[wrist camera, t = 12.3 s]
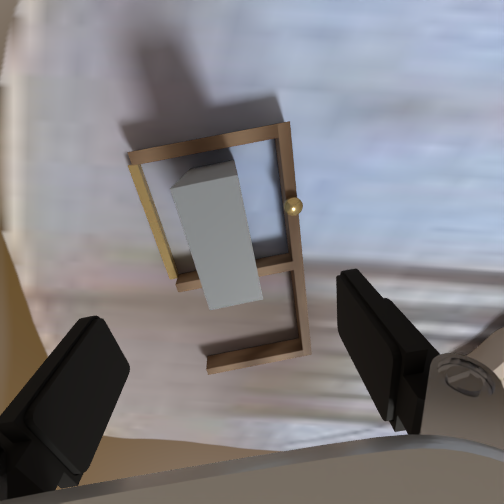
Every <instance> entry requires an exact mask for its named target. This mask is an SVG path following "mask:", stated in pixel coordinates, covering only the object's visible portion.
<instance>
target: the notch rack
mask: <svg viewBox="0 0 504 504" xmlns="http://www.w3.org/2000/svg"><path fill="white" fill-rule="evenodd" d="M274 138H275V143H276V152H277V160H278V168H279V177H280V185H281V193H282V202H283V210H284V218H285V227H286V235H287V243H288V252H289V253H285V254H280V255H275V256H270V257H265V258H260V259H255V262H256V267H257V271H258V276H259V277H260V276H265V275H270V274H276V273H281V272H286V271H291V277H292V285H293V293H294V302H295V310H296V318H297V327H298V335H299V338H298V339H293V340H287V341H282V342H277V343H272V344H267V345H262V346H257V347H252V348H247V349H242V350H236V351H231V352H226V353H221V354H216V355H211V356H208V357H207V368H206V370H207V372H208V375H210V374H215V373H220V372H225V371H230V370H235V369H241V368H246V367H251V366H256V365H261V364H266V363H271V362H276V361H281V360H286V359H291V358H296V357H302V356H307V355H312V353H311V342H310V332H309V321H308V310H307V300H306V289H305V278H304V267H303V257H302V246H301V235H300V225H299V213H300V212H301V210H302V208H303V205H302V202H301V200H299V199H298V198H297V193H296V182H295V171H294V160H293V150H292V139H291V128H290V121H289V122H284V123H278V124H273V125H268V126H263V127H258V128H252V129H247V130H242V131H237V132H231V133H226V134H221V135H216V136H210V137H205V138H200V139H195V140H190V141H184V142H179V143H174V144H169V145H163V146H158V147H153V148H148V149H143V150H137V151H132V152H127V153H128V155H129V158H130V161H131V164H132V165H128V168H129V170H130V173H131V176H132V178H133V181H134V184H135V187H136V189H137V192H138V195H139V197H140V200H141V203H142V205H143V208H144V211H145V213H146V216H147V219H148V222H149V224H150V227H151V230H152V232H153V235H154V238H155V240H156V243H157V246H158V248H159V251H160V254H161V257H162V259H163V262H164V265H165V267H166V270H167V273H168V275H169V278H170V279H175V278H177V281H176V287H177V290H178V292H183V291H188V290H193V289H198V288H202V285H201V282H200V279H199V276H198V273H197V271H193V272H187V273H182V274H179V273H178V270H177V267H176V264H175V262H174V259H173V256H172V253H171V250H170V247H169V244H168V242H167V239H166V236H165V233H164V230H163V227H162V224H161V222H160V219H159V216H158V213H157V210H156V207H155V204H154V201H153V199H152V196H151V193H150V190H149V187H148V184H147V181H146V179H145V176H144V173H143V170H142V167H141V164H143V163H149V162H154V161H159V160H164V159H170V158H175V157H180V156H185V155H190V154H196V153H201V152H206V151H211V150H217V149H222V148H227V147H232V146H237V145H243V144H248V143H253V142H258V141H264V140H269V139H274Z"/></svg>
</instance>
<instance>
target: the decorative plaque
mask: <svg viewBox="0 0 504 504" xmlns="http://www.w3.org/2000/svg"><path fill="white" fill-rule="evenodd" d="M466 356H468V357H470V358H473V359H475V360H477V361H479V362H481V363H482V364H484V365H486V366H487V367H488V368H490V369H491V370H492V371H493V372H494V373H495V374H496V375H497V376H498V378H499V379H500V380H501V382H502V385H503V388H504V327H503V328H501V329H499V330H497V331H495V332H494V333H493V334H491V335H490V336H489V337H488V338H487V339H486V340H485V341H483V342H482V343H481V344H480V345H479V346H478V347H477V348H476V349H475V350H474V351H472V352H471V353H470V354H468V355H466Z"/></svg>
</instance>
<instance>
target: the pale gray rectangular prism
mask: <svg viewBox="0 0 504 504" xmlns="http://www.w3.org/2000/svg"><path fill="white" fill-rule="evenodd" d="M170 190H171V193H172V197H173V200H174V203H175V206H176V209H177V212H178V215H179V218H180V221H181V224H182V227H183V230H184V233H185V236H186V239H187V242H188V245H189V248H190V251H191V254H192V257H193V260H194V263H195V267H196V270H197V273H198V276H199V279H200V282H201V285H202V288H203V291H204V294H205V297H206V300H207V303H208V306H209V309H210V310H214V309H218V308H223V307H228V306H233V305H238V304H242V303H247V302H252V301H257V300H262V299H263V296H262V291H261V286H260V281H259V276H258V271H257V267H256V262H255V257H254V252H253V247H252V242H251V237H250V232H249V228H248V223H247V218H246V213H245V208H244V203H243V198H242V194H241V189H240V184H239V179H238V174H237V170H236V166H235V161H234V160H230V161H225V162H220V163H216V164H211V165H206V166H201V167H196V168H192V169H190V170H189V171H188V172H187V173H186V174H185V175H184V176H183V177H182V178H181V179H180V180H179V181H178V182H177V183H175V184H174V185H173V186H172V187H171V188H170Z"/></svg>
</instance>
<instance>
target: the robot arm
mask: <svg viewBox="0 0 504 504" xmlns="http://www.w3.org/2000/svg"><path fill="white" fill-rule="evenodd" d="M336 286H337V325H338V332H339V335H340V337H341V339H342V341H343V343H344V345H345V347H346V349H347V351H348V353H349V355H350V357H351V359H352V361H353V363H354V365H355V367H356V369H357V371H358V372H359V374H360V376H361V378H362V380H363V382H364V384H365V386H366V388H367V390H368V392H369V394H370V396H371V398H372V400H373V402H374V404H375V406H376V408H377V410H378V412H379V413H380V415H381V417H382V419H383V420H384V421H389V422H390V424H391V425H392V427H393V429H394V431H395V432H397V431H403V430H406V431H407V433H408V435H397V436H386V437H376V438H369V439H362V440H355V441H348V442H341V443H334V444H327V445H320V446H314V447H308V448H302V449H296V450H290V451H284V452H277V453H271V454H266V455H260V456H253V457H247V458H241V459H235V460H229V461H223V462H218V463H212V464H205V465H199V466H193V467H187V468H181V469H175V470H170V471H164V472H158V473H152V474H146V475H141V476H134V477H129V478H124V479H117V480H112V481H106V482H100V483H94V484H89V485H83V486H78V484H79V481H80V480H81V477H82V475H83V473H84V472H86V471H87V469H88V468H89V466H90V464H91V462H92V459H93V457H94V454H95V452H96V450H97V447H98V445H99V443H100V440H101V438H102V436H103V434H104V431H105V429H106V426H107V424H108V422H109V419H110V417H111V415H112V412H113V410H114V408H115V405H116V403H117V401H118V398H119V396H120V394H121V391H122V389H123V387H124V384H125V382H126V380H127V377H128V375H129V372H130V366H129V363H128V361H127V360H126V358H125V356H124V354H123V353H122V351H121V349H120V347H119V345H118V344H117V342H116V340H115V338H114V336H113V335H112V333H111V331H110V329H109V328H108V326H107V324H106V322H105V321H104V319H102V318H100V317H98V316H90V317H85V318H81V319H79V320H78V321H77V322H76V323H75V325H74V326H73V327H72V328H71V330H70V331H69V332H68V333H67V334H66V336H65V337H64V338H63V339H62V341H61V342H60V343H59V344H58V346H57V347H56V348H55V349H54V350H53V352H52V353H51V354H50V355H49V357H48V358H47V359H46V360H45V361H44V363H43V364H42V365H41V366H40V368H39V369H38V370H37V371H36V373H35V374H34V375H33V376H32V378H31V379H30V380H29V381H28V382H27V384H26V385H25V386H24V387H23V389H22V390H21V391H20V392H19V394H18V395H17V396H16V397H15V398H14V400H13V401H12V402H11V403H10V405H9V406H8V407H7V408H6V409H5V411H4V412H3V413H2V414H1V416H0V504H504V388H503V385H502V382H501V380H500V379H499V378H498V376H497V375H496V374H495V373H494V372H493V371H492V370H491V369H490V368H488V367H487V366H486V365H484V364H482V363H481V362H479V361H477V360H475V359H473V358H470V357H468V356H465V355H460V354H455V353H445V354H441V355H440V354H439V352H438V351H437V350H436V349H435V348H434V347H433V346H432V345H431V344H430V343H429V342H428V340H427V339H426V338H425V337H424V336H423V335H422V334H421V333H420V332H419V331H418V330H417V328H416V327H415V326H414V325H413V324H412V323H411V322H410V321H409V320H408V319H407V318H406V316H405V315H404V314H403V313H402V312H401V311H400V310H399V309H398V308H397V307H396V306H395V304H394V303H393V302H392V301H391V300H389V299H387V298H383V297H382V296H381V295H380V294H379V293H378V292H377V291H376V289H375V288H374V287H373V286H372V285H371V284H370V283H369V282H368V280H367V279H366V278H365V277H364V276H363V275H362V274H361V273H360V271H359V270H358V269H350V270H345V271H341V274H340V275H338V276H337V277H336ZM57 486H59V487H60V488H66V489H61V490H56V488H57ZM73 486H77V487H73ZM67 487H72V488H67Z"/></svg>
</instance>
